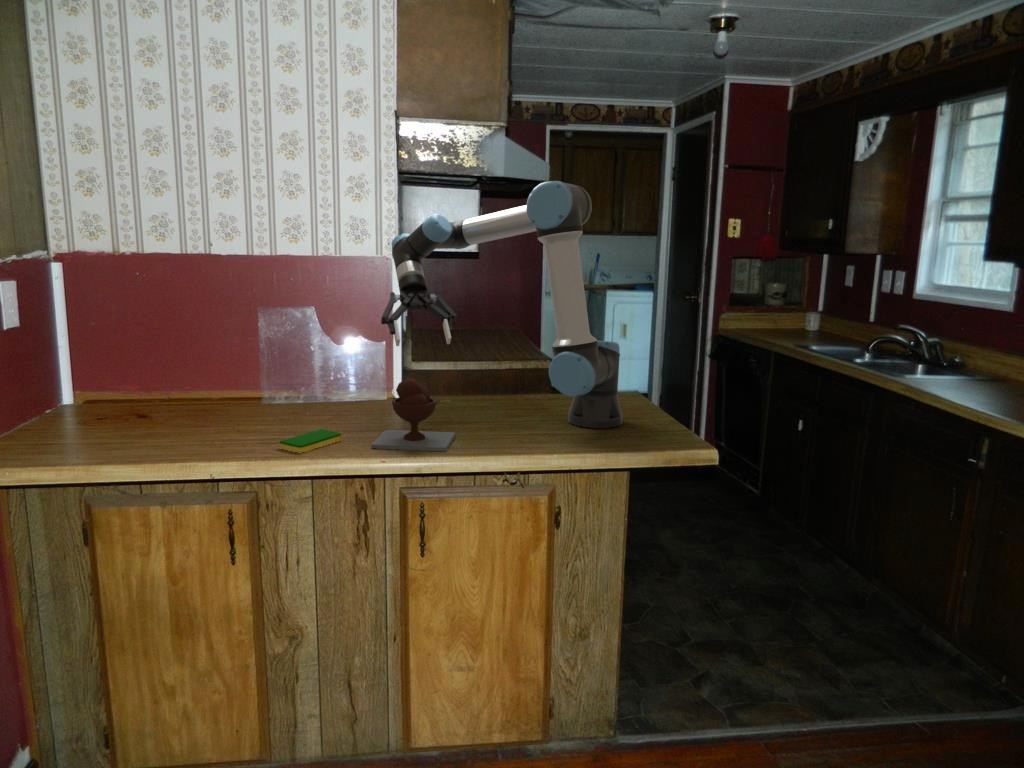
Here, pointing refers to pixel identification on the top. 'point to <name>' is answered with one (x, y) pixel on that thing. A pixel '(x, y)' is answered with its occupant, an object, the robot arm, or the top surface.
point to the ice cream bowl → (413, 406)
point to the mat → (430, 443)
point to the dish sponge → (310, 440)
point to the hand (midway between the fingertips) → (424, 342)
